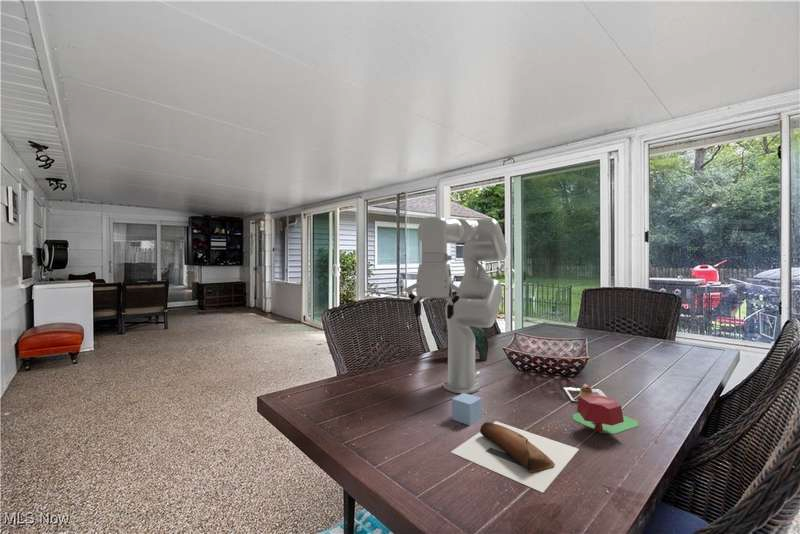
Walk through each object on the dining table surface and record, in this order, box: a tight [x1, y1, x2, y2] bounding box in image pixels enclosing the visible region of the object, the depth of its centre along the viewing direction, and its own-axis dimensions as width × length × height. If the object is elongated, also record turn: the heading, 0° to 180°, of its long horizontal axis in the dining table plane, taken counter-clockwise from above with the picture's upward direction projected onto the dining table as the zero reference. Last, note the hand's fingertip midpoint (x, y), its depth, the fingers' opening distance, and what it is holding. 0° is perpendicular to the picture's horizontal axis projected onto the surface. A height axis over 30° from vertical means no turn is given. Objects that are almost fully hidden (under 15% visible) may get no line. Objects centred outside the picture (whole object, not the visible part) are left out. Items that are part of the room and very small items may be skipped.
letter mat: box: [450, 420, 580, 494], centre depth 87 cm, size 22×22×1 cm
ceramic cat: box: [442, 320, 489, 362], centre depth 166 cm, size 20×6×20 cm, turn 80°
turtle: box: [572, 393, 640, 435], centre depth 101 cm, size 15×20×9 cm
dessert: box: [562, 383, 608, 403], centre depth 121 cm, size 12×12×5 cm
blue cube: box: [451, 393, 483, 426], centre depth 105 cm, size 6×6×6 cm
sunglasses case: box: [479, 421, 555, 473], centre depth 87 cm, size 18×7×7 cm
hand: (433, 317), depth 109 cm, fingers open, 9 cm apart
